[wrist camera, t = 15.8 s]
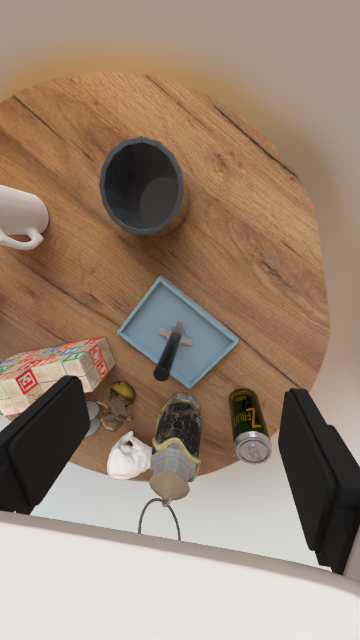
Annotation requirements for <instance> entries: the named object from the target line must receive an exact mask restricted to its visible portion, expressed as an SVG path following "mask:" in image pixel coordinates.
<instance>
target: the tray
mask: <svg viewBox="0 0 360 640" xmlns="http://www.w3.org/2000/svg"><path fill="white" fill-rule="evenodd" d="M178 320H180V321H182V322H185V323H184V326H183V328H182V329H183V330H184V331H185V336H186V337H188V338H191V339H194V341H193V344H192V346H190V345H188V344H185V343H182V344H180V345H179V347H178V350H177V353H176V356H175V359H174V362H173V365H172V368H171V372H170V375H171V376H173V377H174V378H175V379H177V380H178V381H179V382H181V383H182V384H183V385H184V386H186V387H187V388H188V389H191V388H192V387H193V386H194V385H195V384H196V383H197V382H198V381H199V380H200V379H201V378H202V377H203V376H204V375H205V374H206V373H207V372H208V371H209V370H210V369H212V368H213V367H214V366H215V365H216V364H217V363H218V362H219V361H220V360H221V359H222V358H223V357H224V356H225V355H226V354H227V353H228V352H229V351H230V350H231V349H232V348H233V347H234V346H235V345H236V344H238V343H239V340H238V337H237V336H236V335H234V334H233V333H232V332H231V331H230V330H228V329H227V328H226V327H225V326H223V325H222V324H221V323H220V322H219V321H217V320H216V319H215V318H214V317H213V316H211V315H210V314H209V313H208V312H206V311H205V310H204V309H203V308H202V307H200V306H199V305H198V304H197V303H196V302H194V301H193V300H192V299H191V298H189V297H188V296H187V295H186V294H185V293H183V292H182V291H181V290H180V289H179V288H177V287H176V286H175V285H174V284H172V283H171V282H170V281H169V280H168V279H166V278H165V277H164V276H163V275H160V276H159V277H158V278H157V280H156V281H155V282H154V284H153V285H152V286H151V288H150V289H149V290H148V292H147V293H146V294H145V296H144V297H143V298H142V300H141V301H140V302H139V304H138V305H137V306H136V307H135V309H134V310H133V311H132V313H131V314H130V315H129V317H128V318H127V319H126V321H125V322H124V323H123V325H122V326H121V327H120V329H119V330H118V331H117V334H118V335H119V336H121V337H122V338H123V339H125V340H126V341H127V342H128V343H130V344H131V345H132V346H134V347H135V348H136V349H138V350H139V351H140V352H141V353H143V354H144V355H145V356H147V357H148V358H149V359H151V360H152V361H153V362H154V363H156V364H157V363H158V361H159V359H160V357H161V355H162V352H163V350H164V348H165V346H166V343H167V341H168V340H167V337H166V336H163V335H160V334H158V331H159V328H160V327H161V328H164V329H166V330H169V329H170V328H171V327H174V326H176V324H177V321H178Z"/></svg>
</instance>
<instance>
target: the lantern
mask: <svg viewBox="0 0 360 640" xmlns="http://www.w3.org/2000/svg"><path fill="white" fill-rule="evenodd" d="M199 406H200V404H199V403H198V402H197V401H196V400H195V399H194V398H193V397H192V396H191V395H190V394H185V393H178V394H176V395H175V396H173V397H172V398H170V399H169V400H168V402H167V403H165V405H164V406H163V407H162V409H161V411H160V413H159V415H158V418H157V423H156V436H154V437H153V447H152V456H151V457H150V469H151V470H152V471H154V474H153V476H152V477H151V479H150V481H149V483H150V486H151V488H152V489H153V491H155V493H157V494H158V495H159V496H161V497H162V499H163V500H161V499H158V498H155V499H152V500H150V501H149V502H148V503H147V504H146V506H145V507H144V509H143V511H142V514H141V517H140V521H139V530H138V534H141V523H142V517H143V514H144V512H145V510H146V508H147V506H148V505H149V504H150V503H151V502H153V501H161V502H162V505H163V507H168V508H169V509H170V511H171V512H172V514H173V517H174V519H175V522H176V526H177V529H178V537H179V538H178V540H179V541H181V538H180V530H179V525H178V522H177V519H176V516H175V514H174V512H173V510H172V508H171V507H170V506H169V503H170V501H172V500H178V499H181V498H183V497H185V496H186V495H187V494H188V493H189V490H190V489H189V486H188V482H192V481H193V480H195V478H196V477H197V474H198V472H199V469H200V463H201V460H200V459H198V456H199V446H200V435H201V425H202V420H203V418H202V414H201V412H200V410H199ZM196 465H197V466H196Z"/></svg>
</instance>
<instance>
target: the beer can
mask: <svg viewBox="0 0 360 640" xmlns="http://www.w3.org/2000/svg"><path fill="white" fill-rule="evenodd" d="M229 404H230V413H231V423H232V432H233V441H234V448H235V450H236V453H237V456H238V457H239V458H240V459H241V460H242V461H244V462H246V463H249V464H261V463H263V462H265V461H267V460H268V459H269V458H270V456H271V452H272V451H271V441H270V438H269V435H268V431H267V428H266V424H265V421H264V418H263V414H262V411H261V407H260V404H259V400H258V397H257V395H256V394H255V392H253V391H252V390H251V389H249V388H246V387H241V388H237V389H235V390H234V391H233V392H232V393H231V395H230V397H229Z"/></svg>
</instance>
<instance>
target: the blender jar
mask: <svg viewBox="0 0 360 640" xmlns="http://www.w3.org/2000/svg"><path fill="white" fill-rule="evenodd" d="M99 187H100V192H101V197H102V202H103V205H104V207H105V209H106V211H107V212H108V214H109V216H110V218H111V219H112V220H113V221H114V222H115V223H116V224H117V225H119V226H120V227H121V228H122V229H123V230H125V231H128V232H131V233H134V234H138V235H144V236H162V235H167V234H169V233H171V232H173V231H174V230H175V229H177V228H178V227H179V226H180V225H181V223H182V222H183V220H184V219H185V217H186V215H187V212H188V208H189V190H188V185H187V183H186V180H185V178H184V176H183V173H182V171H181V169H180V167H179V165H178V163H177V161H176V158H175V156H174V154H173V153H172V152H171V151H170V150H168V149H167V148H166V147H165V146H164V145H163V144H162V143H161V142H159V141H157V140H153V139H150V138H147V137H143V136H140V137H135V138H130V139H126V140H124V141H122V142H121V143H120V144H119V145H117V146H116V147H115V148H113V149H112V150H111V151H110V153H109V155H108V157H107V159H106V160H105V162H104V164H103V166H102V170H101V178H100V185H99Z"/></svg>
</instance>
